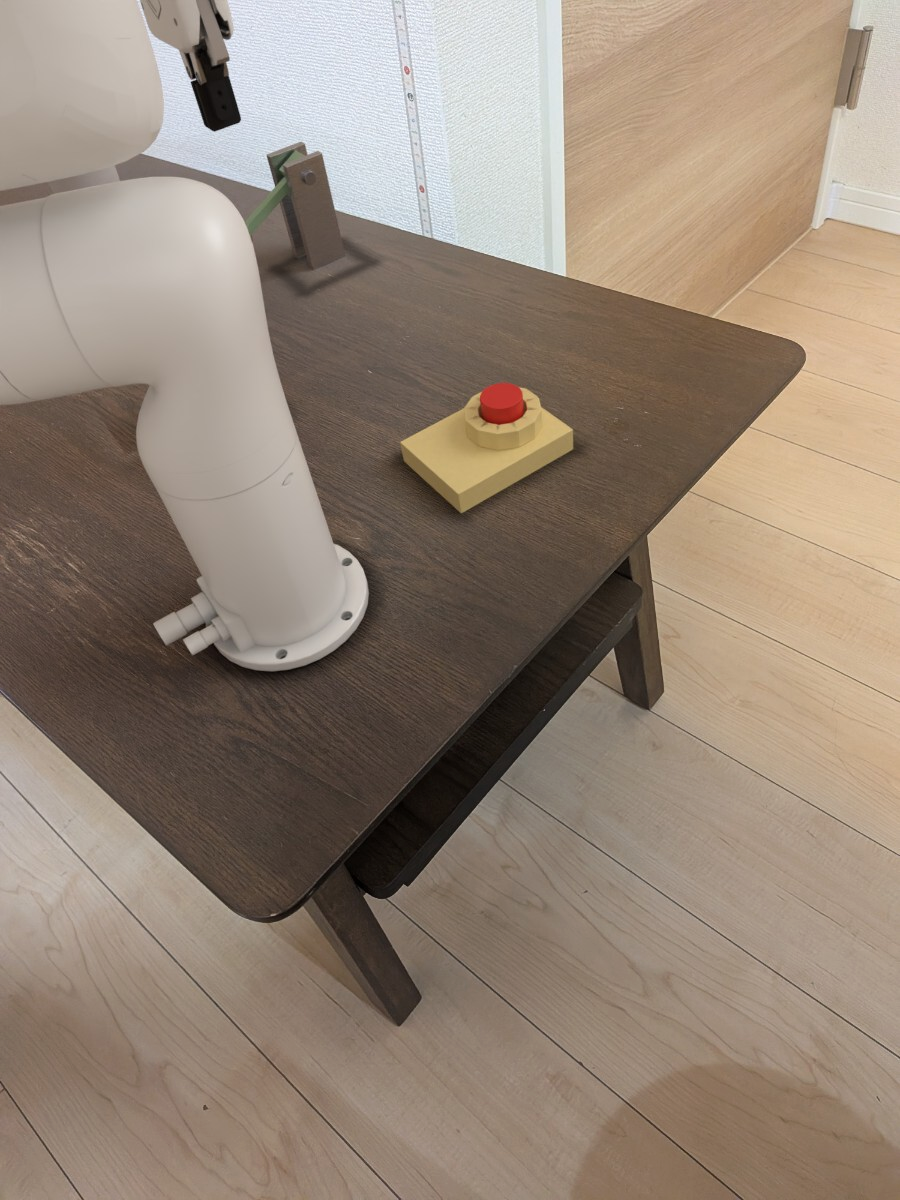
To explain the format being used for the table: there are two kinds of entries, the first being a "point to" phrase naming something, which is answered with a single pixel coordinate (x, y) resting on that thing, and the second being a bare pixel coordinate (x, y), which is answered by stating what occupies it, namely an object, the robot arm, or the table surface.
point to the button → (501, 403)
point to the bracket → (308, 206)
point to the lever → (270, 200)
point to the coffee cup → (85, 180)
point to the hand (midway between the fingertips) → (223, 124)
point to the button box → (485, 451)
